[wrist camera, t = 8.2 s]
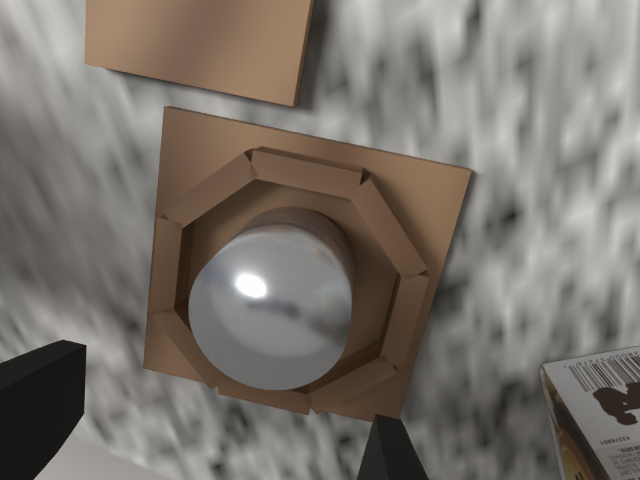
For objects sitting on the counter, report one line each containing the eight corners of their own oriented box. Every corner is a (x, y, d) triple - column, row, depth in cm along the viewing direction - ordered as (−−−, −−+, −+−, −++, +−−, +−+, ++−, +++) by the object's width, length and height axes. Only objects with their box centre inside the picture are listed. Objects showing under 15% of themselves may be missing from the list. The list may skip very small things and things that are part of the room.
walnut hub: (149, 361, 22) (128, 386, 20) (170, 106, 19) (147, 107, 17) (394, 418, 22) (396, 450, 20) (468, 168, 18) (479, 177, 16)
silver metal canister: (227, 316, 20) (187, 377, 16) (232, 198, 18) (189, 230, 14) (347, 334, 20) (339, 401, 15) (363, 215, 18) (360, 254, 14)
